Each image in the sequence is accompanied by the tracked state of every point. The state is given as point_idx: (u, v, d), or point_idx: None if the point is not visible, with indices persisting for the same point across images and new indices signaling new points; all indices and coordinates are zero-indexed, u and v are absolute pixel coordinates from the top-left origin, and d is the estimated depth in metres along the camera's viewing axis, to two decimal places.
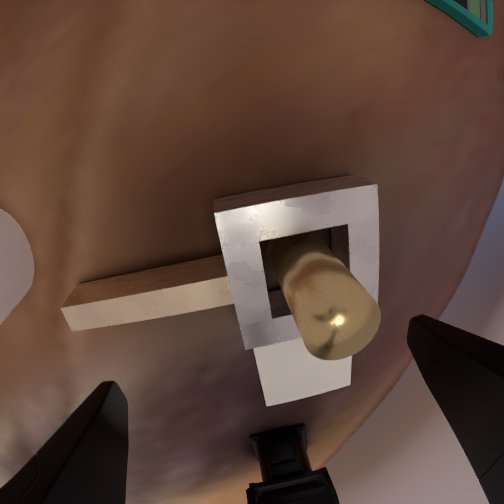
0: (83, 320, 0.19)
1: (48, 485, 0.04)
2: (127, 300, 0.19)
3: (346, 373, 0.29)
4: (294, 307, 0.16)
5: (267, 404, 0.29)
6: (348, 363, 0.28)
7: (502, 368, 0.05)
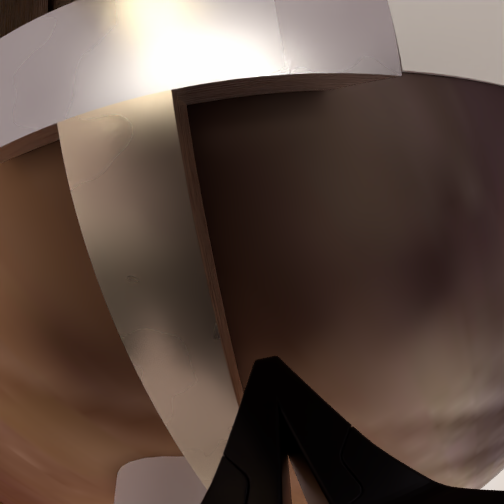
0: None
1: (276, 484, 0.04)
2: (169, 411, 0.07)
3: None
4: None
5: None
6: None
7: (323, 447, 0.05)
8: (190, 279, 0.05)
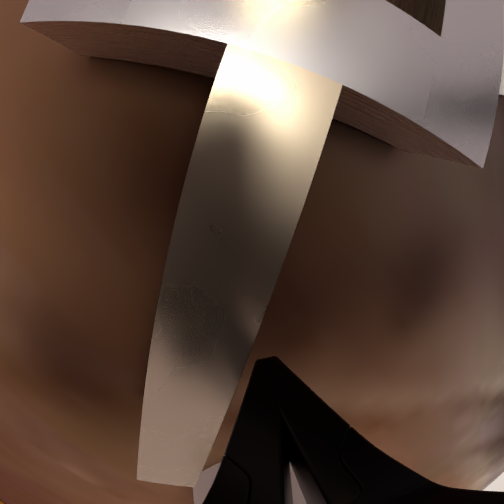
0: (178, 468, 0.08)
1: (278, 484, 0.04)
2: (159, 383, 0.06)
3: None
4: None
5: None
6: None
7: (322, 448, 0.05)
8: (270, 254, 0.05)
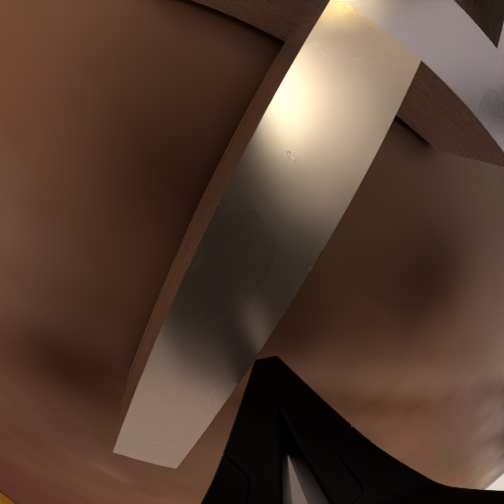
0: (165, 443, 0.07)
1: (276, 484, 0.04)
2: (177, 329, 0.06)
3: None
4: None
5: None
6: None
7: (323, 447, 0.05)
8: (337, 195, 0.05)
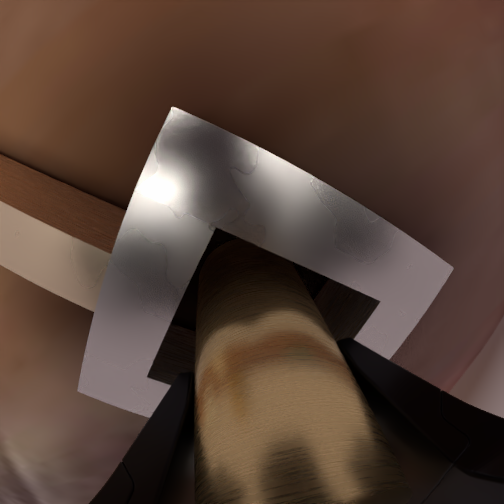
0: None
1: (154, 496, 0.04)
2: None
3: None
4: (194, 461, 0.05)
5: None
6: None
7: (421, 412, 0.05)
8: (8, 261, 0.07)
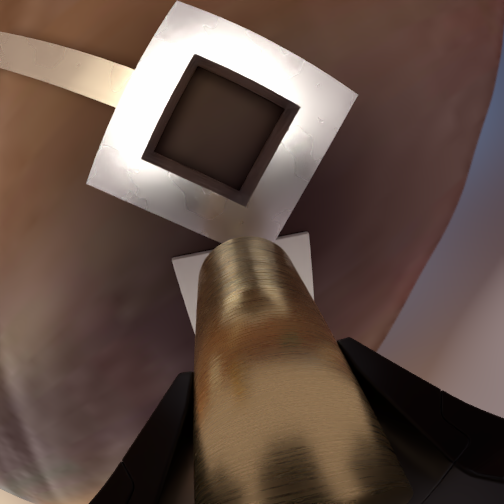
0: None
1: (154, 496, 0.04)
2: (30, 43, 0.10)
3: None
4: (193, 460, 0.05)
5: None
6: None
7: (421, 412, 0.05)
8: (66, 83, 0.11)
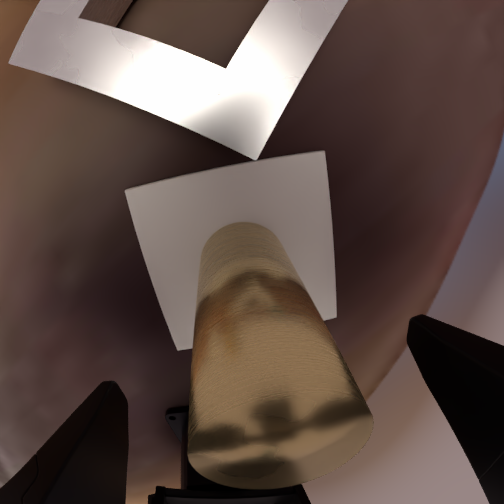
0: None
1: (48, 485, 0.04)
2: None
3: (327, 287, 0.16)
4: None
5: (177, 345, 0.16)
6: (328, 263, 0.15)
7: (502, 368, 0.05)
8: None
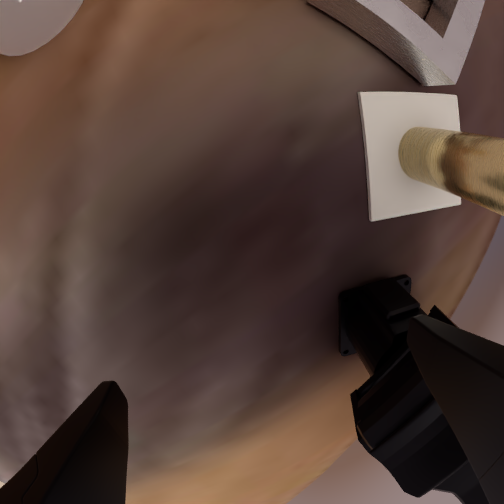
0: None
1: (48, 485, 0.04)
2: None
3: None
4: (481, 167, 0.12)
5: (372, 217, 0.21)
6: None
7: (502, 368, 0.05)
8: None
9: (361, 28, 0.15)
